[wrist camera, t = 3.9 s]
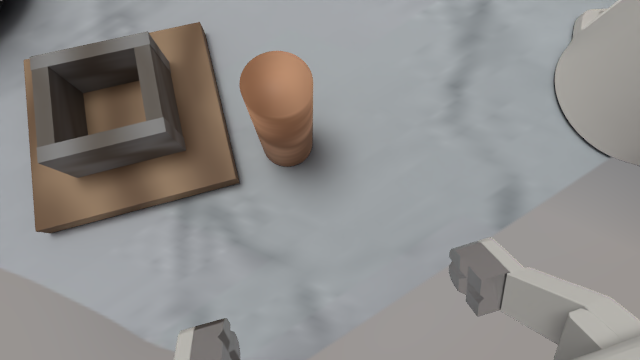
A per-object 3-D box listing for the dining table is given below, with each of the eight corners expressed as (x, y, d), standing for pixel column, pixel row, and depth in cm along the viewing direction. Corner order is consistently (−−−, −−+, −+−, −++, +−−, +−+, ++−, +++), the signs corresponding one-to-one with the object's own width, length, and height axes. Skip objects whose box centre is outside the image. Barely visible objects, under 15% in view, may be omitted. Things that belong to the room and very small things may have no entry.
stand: (204, 32, 32) (183, -13, 27) (239, 182, 29) (223, 163, 23) (37, 69, 31) (-20, 28, 26) (50, 233, 27) (-14, 225, 22)
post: (304, 115, 30) (302, 44, 21) (318, 159, 29) (321, 105, 20) (257, 127, 30) (232, 60, 20) (269, 172, 29) (248, 123, 19)
